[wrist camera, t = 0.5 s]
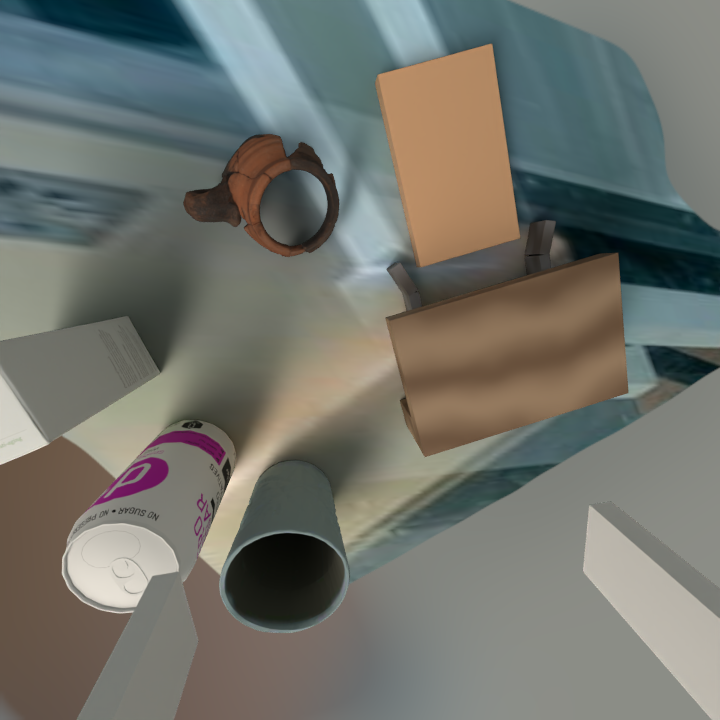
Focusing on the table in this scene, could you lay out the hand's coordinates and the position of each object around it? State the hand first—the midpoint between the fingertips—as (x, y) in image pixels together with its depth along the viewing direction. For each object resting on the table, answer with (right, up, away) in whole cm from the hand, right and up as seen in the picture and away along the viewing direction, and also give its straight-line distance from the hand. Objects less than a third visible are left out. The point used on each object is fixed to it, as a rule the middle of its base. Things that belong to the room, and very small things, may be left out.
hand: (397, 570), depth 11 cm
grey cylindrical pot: (-8, -8, +29) cm, 31 cm away
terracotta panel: (+7, +25, +22) cm, 34 cm away
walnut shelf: (+11, +10, +26) cm, 30 cm away
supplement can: (-18, -3, +26) cm, 32 cm away
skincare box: (-25, +7, +23) cm, 35 cm away
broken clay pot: (-10, +21, +21) cm, 31 cm away
